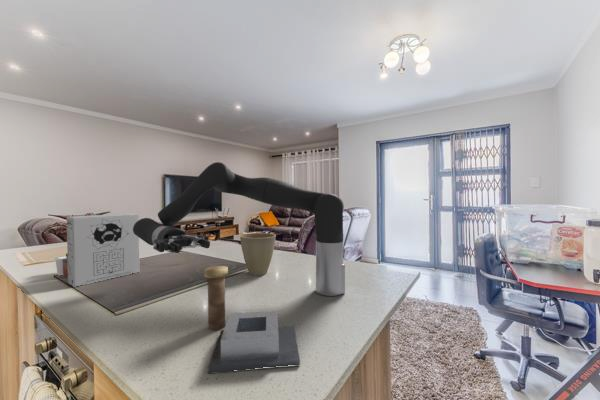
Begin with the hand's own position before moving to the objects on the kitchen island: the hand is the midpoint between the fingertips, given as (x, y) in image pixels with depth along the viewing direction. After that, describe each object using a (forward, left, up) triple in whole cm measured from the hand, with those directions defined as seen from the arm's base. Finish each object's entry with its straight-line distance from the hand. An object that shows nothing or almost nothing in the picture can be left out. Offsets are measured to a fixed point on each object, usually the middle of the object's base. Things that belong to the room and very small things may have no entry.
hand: (194, 246), depth 71 cm
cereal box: (+44, -37, -19) cm, 60 cm away
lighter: (+59, -42, -19) cm, 75 cm away
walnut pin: (-8, +8, -19) cm, 22 cm away
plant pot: (-16, -36, -19) cm, 43 cm away
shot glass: (+64, -45, -19) cm, 80 cm away
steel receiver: (-18, +19, -19) cm, 32 cm away
